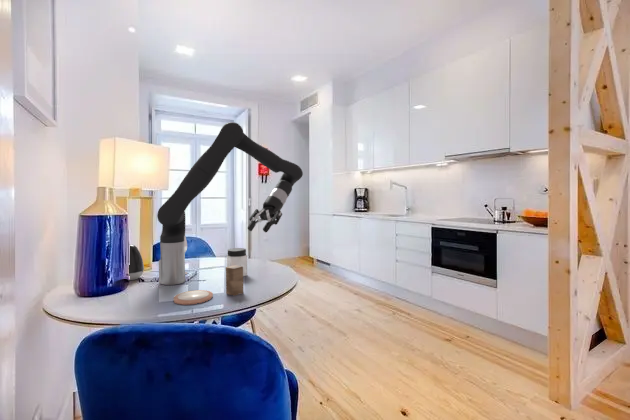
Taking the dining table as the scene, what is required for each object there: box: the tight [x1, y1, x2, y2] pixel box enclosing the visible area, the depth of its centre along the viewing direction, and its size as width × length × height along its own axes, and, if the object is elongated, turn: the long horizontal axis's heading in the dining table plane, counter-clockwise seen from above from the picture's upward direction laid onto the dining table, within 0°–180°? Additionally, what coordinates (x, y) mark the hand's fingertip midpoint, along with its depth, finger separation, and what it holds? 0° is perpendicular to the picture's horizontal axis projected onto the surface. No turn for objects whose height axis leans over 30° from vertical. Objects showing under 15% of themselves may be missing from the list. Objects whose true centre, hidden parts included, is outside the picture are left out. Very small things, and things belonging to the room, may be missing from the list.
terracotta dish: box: [173, 289, 214, 306], centre depth 113 cm, size 13×13×1 cm
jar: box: [226, 247, 248, 278], centre depth 145 cm, size 9×8×12 cm
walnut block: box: [225, 265, 244, 297], centre depth 119 cm, size 4×4×10 cm
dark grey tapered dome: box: [129, 244, 145, 281], centre depth 140 cm, size 10×10×15 cm
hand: (256, 230), depth 127 cm, fingers open, 8 cm apart
